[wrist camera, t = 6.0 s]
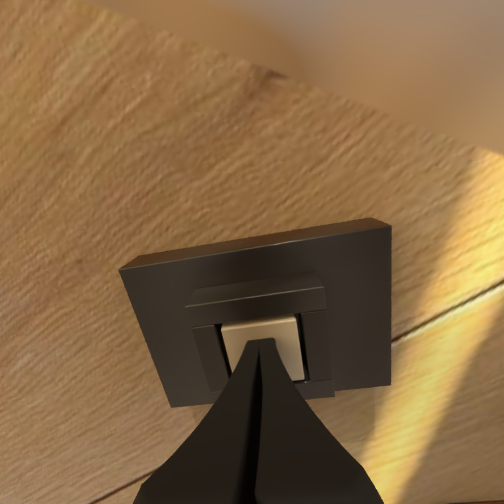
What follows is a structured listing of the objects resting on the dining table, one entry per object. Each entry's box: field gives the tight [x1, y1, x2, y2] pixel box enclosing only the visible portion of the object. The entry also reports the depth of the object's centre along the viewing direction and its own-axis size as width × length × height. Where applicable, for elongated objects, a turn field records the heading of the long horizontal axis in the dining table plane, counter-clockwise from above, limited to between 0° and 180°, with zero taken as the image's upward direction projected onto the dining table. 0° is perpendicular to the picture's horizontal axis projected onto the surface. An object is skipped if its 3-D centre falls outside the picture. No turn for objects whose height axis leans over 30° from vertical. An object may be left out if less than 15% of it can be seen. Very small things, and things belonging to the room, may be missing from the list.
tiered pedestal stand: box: [119, 218, 392, 408], centre depth 14 cm, size 14×10×4 cm
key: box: [221, 314, 304, 381], centre depth 12 cm, size 4×4×2 cm
